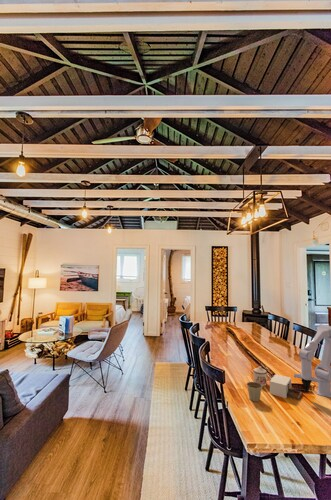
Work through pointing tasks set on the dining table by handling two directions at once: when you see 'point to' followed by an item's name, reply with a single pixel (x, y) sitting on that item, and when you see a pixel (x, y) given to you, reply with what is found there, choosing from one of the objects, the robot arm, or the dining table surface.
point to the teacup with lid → (261, 376)
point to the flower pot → (254, 390)
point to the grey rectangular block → (279, 385)
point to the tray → (292, 393)
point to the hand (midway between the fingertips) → (307, 391)
